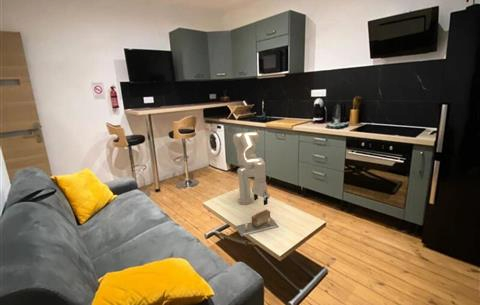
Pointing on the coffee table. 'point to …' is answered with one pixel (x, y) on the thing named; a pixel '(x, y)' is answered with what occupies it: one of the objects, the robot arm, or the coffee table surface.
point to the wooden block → (260, 218)
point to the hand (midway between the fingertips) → (260, 202)
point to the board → (248, 229)
